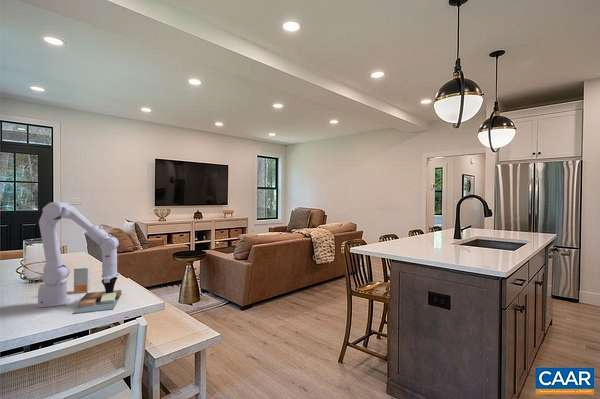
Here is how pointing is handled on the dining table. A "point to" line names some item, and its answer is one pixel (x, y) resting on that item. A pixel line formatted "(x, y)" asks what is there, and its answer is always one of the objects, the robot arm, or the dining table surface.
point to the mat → (96, 307)
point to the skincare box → (82, 279)
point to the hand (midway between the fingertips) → (109, 294)
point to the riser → (100, 295)
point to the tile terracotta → (88, 302)
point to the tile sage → (108, 298)
